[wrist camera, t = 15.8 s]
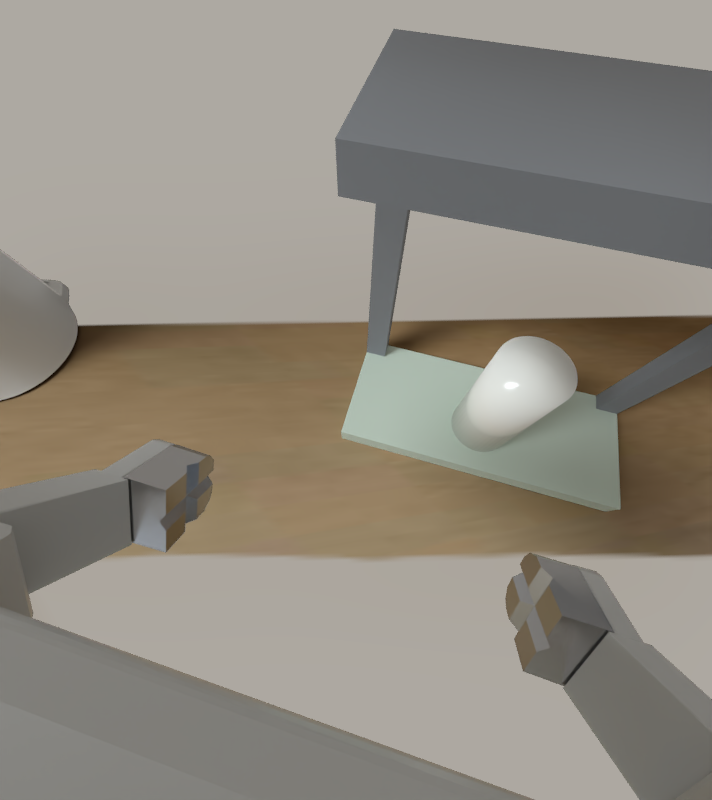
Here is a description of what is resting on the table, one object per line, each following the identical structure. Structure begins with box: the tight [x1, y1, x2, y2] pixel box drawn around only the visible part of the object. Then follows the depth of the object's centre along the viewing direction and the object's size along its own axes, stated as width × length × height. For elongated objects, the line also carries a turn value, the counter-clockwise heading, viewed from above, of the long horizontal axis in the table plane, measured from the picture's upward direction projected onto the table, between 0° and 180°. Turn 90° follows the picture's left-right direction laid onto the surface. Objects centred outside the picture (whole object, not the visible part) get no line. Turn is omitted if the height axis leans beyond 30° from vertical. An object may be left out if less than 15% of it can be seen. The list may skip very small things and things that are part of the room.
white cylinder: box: [451, 336, 578, 452], centre depth 27 cm, size 6×6×11 cm
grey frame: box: [335, 29, 712, 511], centre depth 23 cm, size 26×11×26 cm, turn 74°
